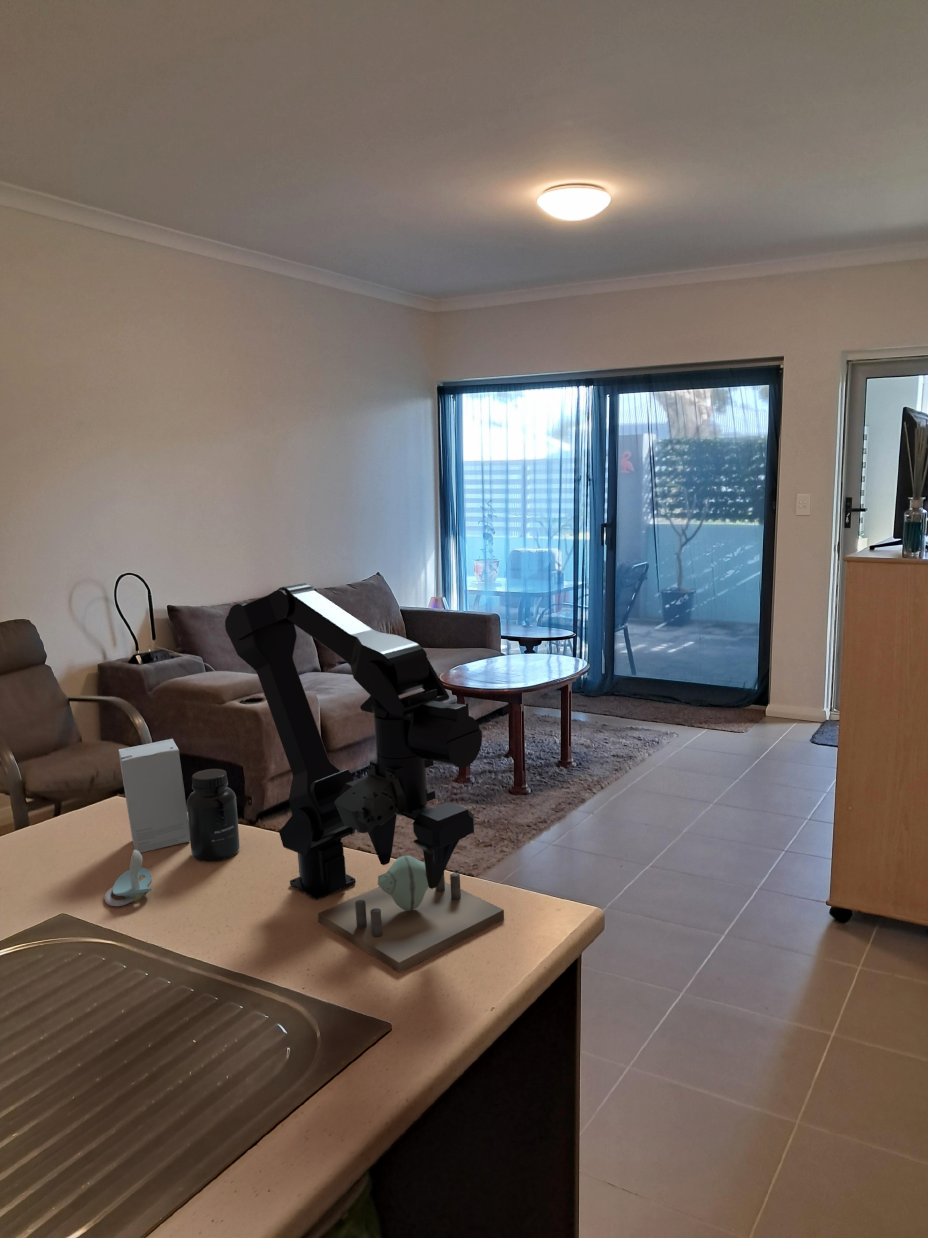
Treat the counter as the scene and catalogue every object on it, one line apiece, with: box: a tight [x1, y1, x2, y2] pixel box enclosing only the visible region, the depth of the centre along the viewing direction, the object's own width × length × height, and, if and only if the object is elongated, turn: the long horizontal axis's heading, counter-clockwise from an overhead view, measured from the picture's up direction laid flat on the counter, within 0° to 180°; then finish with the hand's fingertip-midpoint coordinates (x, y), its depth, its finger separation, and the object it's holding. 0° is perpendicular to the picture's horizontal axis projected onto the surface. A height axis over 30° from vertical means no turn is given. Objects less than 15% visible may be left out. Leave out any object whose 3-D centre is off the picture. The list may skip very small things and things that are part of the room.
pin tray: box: [317, 872, 505, 973], centre depth 113 cm, size 16×16×4 cm
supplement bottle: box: [186, 768, 241, 863], centre depth 134 cm, size 7×7×12 cm
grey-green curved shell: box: [377, 855, 429, 911], centre depth 113 cm, size 8×4×7 cm, turn 111°
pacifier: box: [104, 849, 153, 907], centre depth 123 cm, size 7×6×6 cm
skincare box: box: [118, 738, 190, 853], centre depth 139 cm, size 8×6×15 cm
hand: (408, 875), depth 112 cm, fingers open, 9 cm apart
